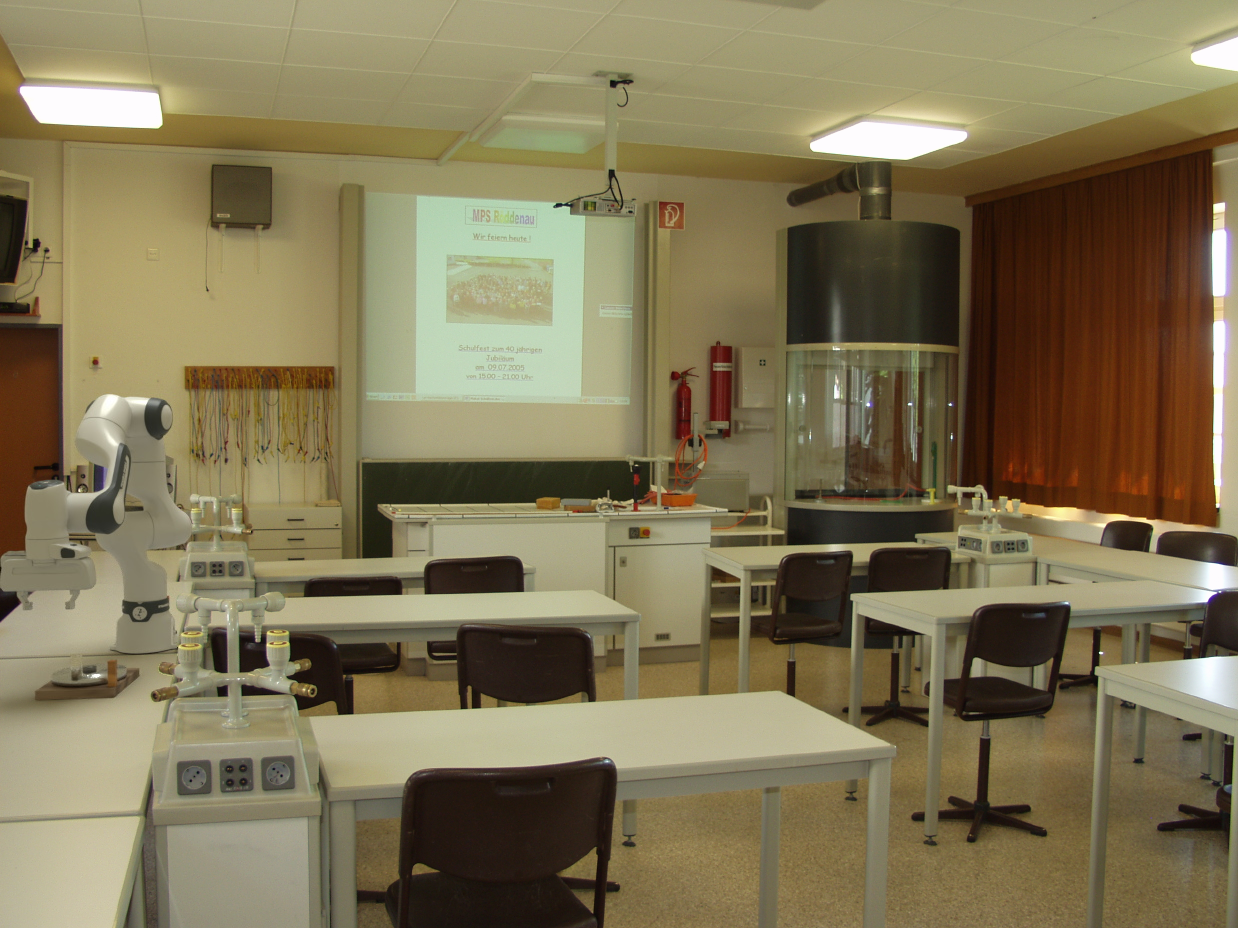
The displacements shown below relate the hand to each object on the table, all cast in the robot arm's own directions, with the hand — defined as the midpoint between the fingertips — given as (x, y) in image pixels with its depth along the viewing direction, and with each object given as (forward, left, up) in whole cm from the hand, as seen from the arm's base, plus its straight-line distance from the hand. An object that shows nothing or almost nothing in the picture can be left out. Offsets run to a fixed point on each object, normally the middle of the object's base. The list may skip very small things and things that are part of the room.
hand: (49, 609), depth 235 cm
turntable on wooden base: (-6, +7, -20) cm, 22 cm away
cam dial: (-6, +7, -18) cm, 20 cm away
